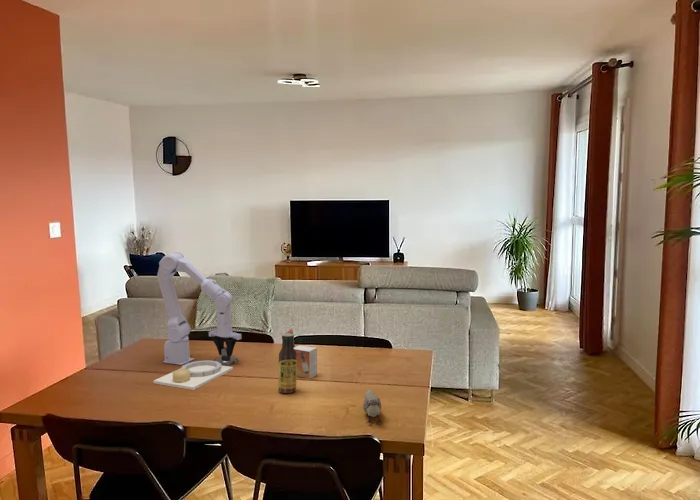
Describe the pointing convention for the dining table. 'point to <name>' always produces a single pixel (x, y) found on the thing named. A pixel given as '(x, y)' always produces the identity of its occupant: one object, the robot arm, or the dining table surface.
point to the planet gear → (226, 358)
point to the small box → (306, 361)
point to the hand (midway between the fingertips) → (225, 355)
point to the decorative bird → (372, 405)
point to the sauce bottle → (287, 365)
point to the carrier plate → (193, 379)
